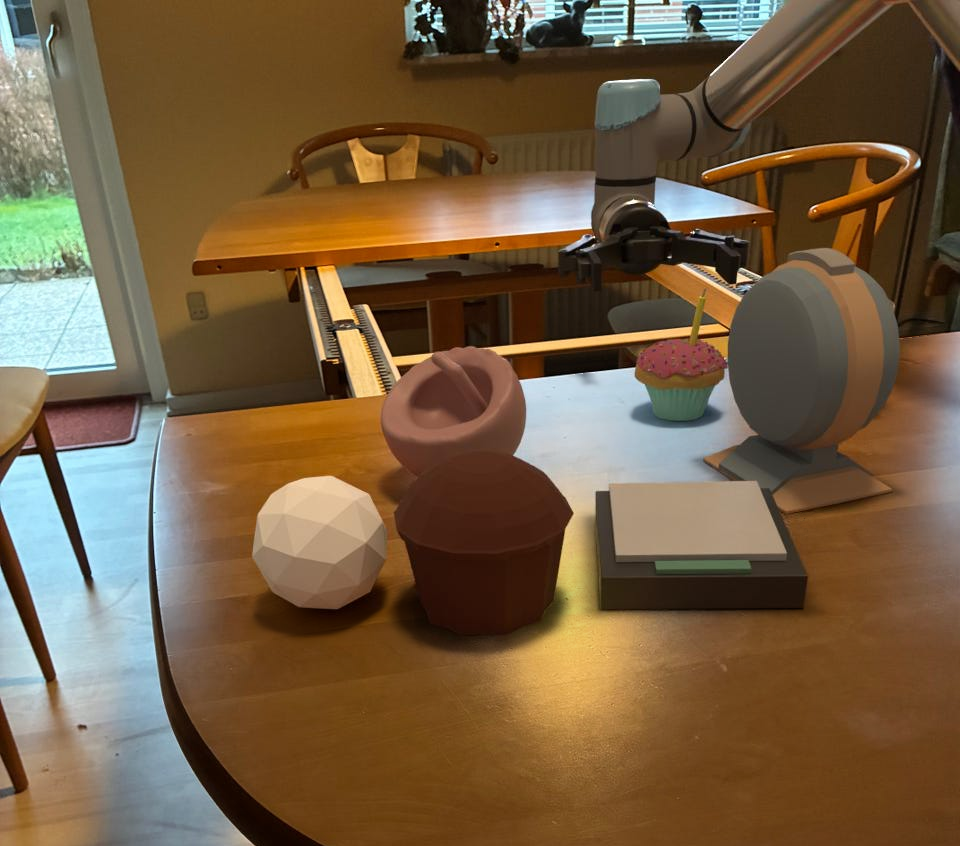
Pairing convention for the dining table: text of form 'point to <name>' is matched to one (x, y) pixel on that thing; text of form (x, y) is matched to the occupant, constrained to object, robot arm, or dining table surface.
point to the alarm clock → (809, 378)
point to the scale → (695, 547)
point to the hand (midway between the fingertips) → (665, 274)
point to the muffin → (484, 541)
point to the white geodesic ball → (320, 542)
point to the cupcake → (681, 373)
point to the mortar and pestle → (454, 408)
